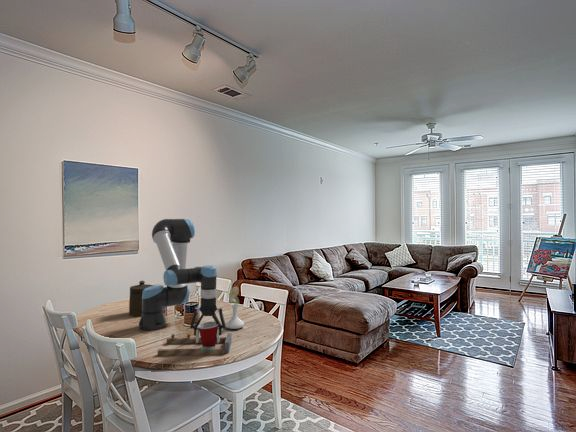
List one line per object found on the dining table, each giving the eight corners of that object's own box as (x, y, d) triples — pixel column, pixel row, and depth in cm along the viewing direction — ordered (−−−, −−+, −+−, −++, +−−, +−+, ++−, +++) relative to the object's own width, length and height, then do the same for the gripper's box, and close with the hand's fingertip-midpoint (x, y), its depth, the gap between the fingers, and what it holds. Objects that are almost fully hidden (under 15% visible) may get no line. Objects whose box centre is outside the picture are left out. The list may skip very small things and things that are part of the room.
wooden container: (156, 310, 228) (156, 278, 228) (148, 316, 213) (148, 283, 213) (134, 310, 228) (135, 278, 228) (125, 316, 213) (125, 282, 213)
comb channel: (157, 355, 154) (157, 346, 154) (167, 342, 170) (167, 334, 170) (224, 354, 156) (224, 345, 156) (227, 341, 172) (227, 333, 172)
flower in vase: (223, 325, 198) (223, 284, 198) (241, 323, 202) (242, 282, 202) (227, 332, 186) (228, 288, 186) (247, 330, 190) (247, 287, 190)
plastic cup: (207, 342, 171) (206, 319, 171) (224, 345, 166) (223, 321, 166) (192, 350, 161) (192, 325, 161) (210, 353, 156) (209, 328, 156)
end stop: (224, 352, 158) (224, 342, 158) (227, 342, 171) (227, 333, 171) (228, 352, 158) (229, 342, 158) (231, 342, 171) (231, 332, 171)
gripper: (183, 299, 159) (183, 345, 159) (230, 298, 161) (229, 344, 161) (187, 295, 167) (186, 339, 166) (231, 295, 168) (231, 338, 168)
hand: (207, 341), depth 164 cm, fingers open, 10 cm apart
